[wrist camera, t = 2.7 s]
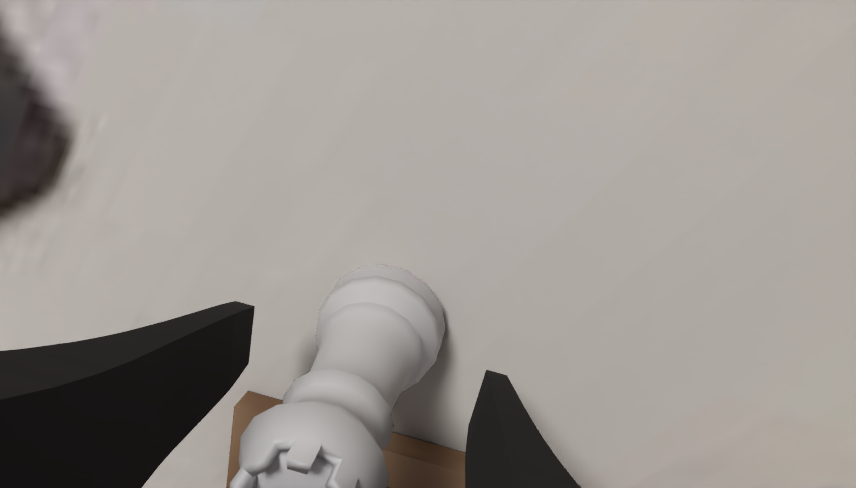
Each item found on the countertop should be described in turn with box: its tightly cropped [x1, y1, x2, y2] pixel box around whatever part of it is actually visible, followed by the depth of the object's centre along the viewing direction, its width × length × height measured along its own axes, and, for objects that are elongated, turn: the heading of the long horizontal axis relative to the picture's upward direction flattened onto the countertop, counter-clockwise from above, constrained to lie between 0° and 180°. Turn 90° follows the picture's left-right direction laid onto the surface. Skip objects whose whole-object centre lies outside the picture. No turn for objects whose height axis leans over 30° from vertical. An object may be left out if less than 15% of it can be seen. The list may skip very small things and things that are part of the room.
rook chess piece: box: [230, 265, 446, 488], centre depth 11 cm, size 4×4×8 cm
